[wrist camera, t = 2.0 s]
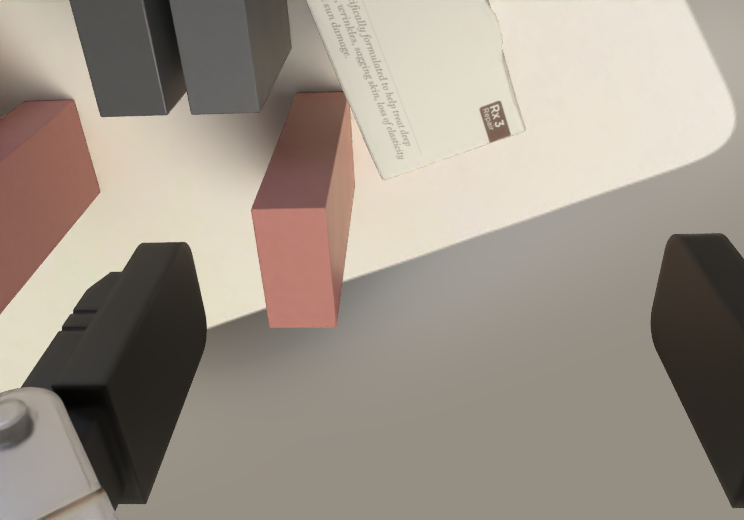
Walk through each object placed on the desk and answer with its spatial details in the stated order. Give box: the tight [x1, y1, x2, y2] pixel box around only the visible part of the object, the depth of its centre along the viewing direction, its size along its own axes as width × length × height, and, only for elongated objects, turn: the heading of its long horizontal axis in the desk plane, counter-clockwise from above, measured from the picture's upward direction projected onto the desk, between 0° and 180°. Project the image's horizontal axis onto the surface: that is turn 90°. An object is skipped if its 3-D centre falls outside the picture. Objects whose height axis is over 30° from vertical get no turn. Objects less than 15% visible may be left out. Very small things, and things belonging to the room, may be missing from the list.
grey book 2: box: [169, 0, 292, 115], centre depth 32 cm, size 7×3×10 cm, turn 3°
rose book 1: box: [0, 100, 100, 314], centre depth 35 cm, size 6×3×14 cm, turn 3°
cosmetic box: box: [306, 0, 525, 180], centre depth 29 cm, size 8×6×15 cm
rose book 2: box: [251, 92, 355, 328], centre depth 35 cm, size 6×3×14 cm, turn 3°
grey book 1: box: [70, 0, 187, 117], centre depth 32 cm, size 7×3×10 cm, turn 3°
